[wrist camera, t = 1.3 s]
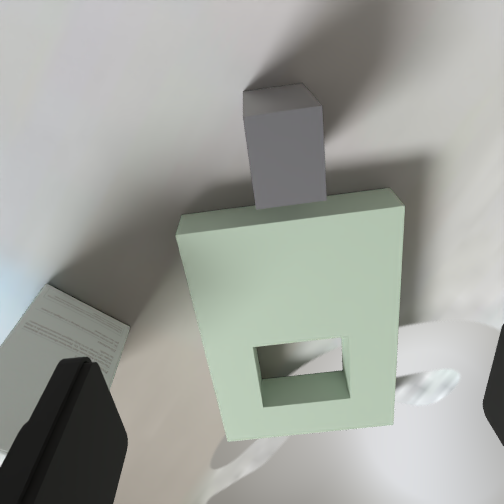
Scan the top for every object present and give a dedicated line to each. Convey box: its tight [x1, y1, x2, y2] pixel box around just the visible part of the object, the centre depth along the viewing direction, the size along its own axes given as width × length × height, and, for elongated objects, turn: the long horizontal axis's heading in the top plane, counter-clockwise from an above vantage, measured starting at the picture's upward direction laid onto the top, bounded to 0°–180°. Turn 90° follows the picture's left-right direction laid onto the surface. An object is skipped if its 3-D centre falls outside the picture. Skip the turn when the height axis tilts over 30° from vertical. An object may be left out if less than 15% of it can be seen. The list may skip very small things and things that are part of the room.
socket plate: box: [175, 188, 405, 442], centre depth 32 cm, size 20×14×3 cm
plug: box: [243, 83, 327, 210], centre depth 22 cm, size 4×4×7 cm
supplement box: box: [0, 284, 130, 467], centre depth 28 cm, size 7×7×13 cm
